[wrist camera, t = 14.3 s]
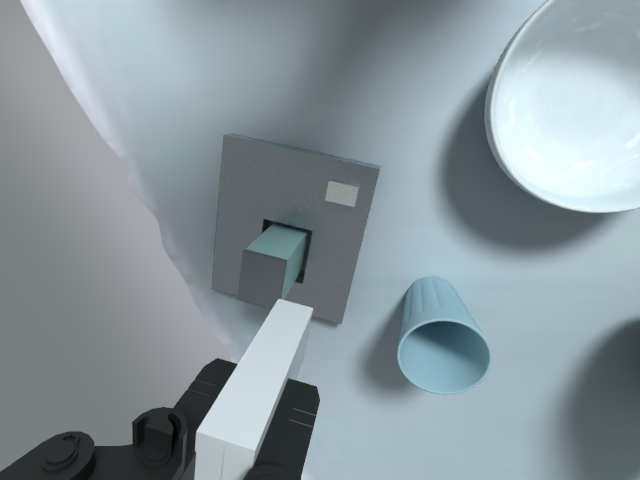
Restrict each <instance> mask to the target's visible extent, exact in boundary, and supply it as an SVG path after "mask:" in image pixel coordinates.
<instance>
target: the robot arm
mask: <svg viewBox="0 0 640 480" xmlns="http://www.w3.org/2000/svg"><path fill="white" fill-rule="evenodd" d="M312 313H313V308H311V307H308V306H304V305H300V304H297V303H293V302H289V301H286V300H282V299H278V300H277V302H276V303H275V305H274V307H273V308H272V310H271V312H270V313H269V315H268V316H267V318H266V320H265V321H264V323H263V324H262V326H261V328H260V329H259V331H258V333H257V334H256V336H255V337H254V339H253V341H252V342H251V344H250V346H249V347H248V349H247V350H246V352H245V354H244V355H243V357H242V358H241V360H240V362H239V363H238V364H235V363H232V362H229V361H225V360H221V359H218V358H217V359H215V360H214V361H212V362H211V363H209V364H207V365H206V366H205V367H203V369H202V370H201V372H200V373H199V374H198V376H197V377H196V378H195V381H193V382H192V384H191V385H190V386H189V388H188V390H187V391H186V392H185V393H184V394H183V396H182V397H181V398H180V400H179V401H178V402H177V404H176V405H175V406H174V408H165V407H162V408H156V409H151V410H149V411H147V412H145V413H143V414H141V415H140V416H139V417H138V418H136V419H135V420H134V421H133V422H132V423H133V424H132V426H133V444H131V445H125V446H94V441H93V440H92V438H91V437H90V436H89V435H88V434H85V433H83V432H66V433H62V434H58V435H55V436H53V437H52V438H50V439H48V440H46V441H44V442H43V443H41V444H40V445H38V446H37V447H35V448H34V449H33V450H31V451H30V452H28V453H27V454H25V455H24V456H23V457H21V458H20V459H18V460H17V461H15V462H14V463H13V464H11V465H10V466H8V467H7V468H5V469H4V470H2V471H1V472H0V480H301V474H302V470H303V466H304V463H305V459H306V455H307V451H308V447H309V443H310V439H311V435H312V431H313V427H314V423H315V419H316V414H317V410H318V406H319V402H320V398H319V394H318V389H317V387H316V386H313V385H309V384H306V383H303V382H299V381H296V377H297V375H298V372H299V369H300V366H301V364H302V361H303V356H304V351H305V346H306V342H307V337H308V332H309V327H310V322H311V318H312Z"/></svg>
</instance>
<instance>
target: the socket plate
mask: <svg viewBox="0 0 640 480" xmlns="http://www.w3.org/2000/svg"><path fill="white" fill-rule="evenodd" d="M379 170H380V166H377V165H372V164H367V163H363V162H358V161H354V160H349V159H344V158H340V157H335V156H331V155H326V154H321V153H317V152H312V151H308V150H303V149H298V148H294V147H289V146H285V145H280V144H276V143H271V142H266V141H262V140H257V139H253V138H248V137H243V136H239V135H234V134H229V135H224V140H223V152H222V165H221V177H220V190H219V202H218V214H217V227H216V239H215V251H214V264H213V276H212V289H214V290H218V291H222V292H225V293H229V294H233V295H236V296H238V288H239V279H240V270H241V261H242V253H243V251H244V250H245V249H246V248H247V247H248V246H249V245H250V244H251V243H252V242H253V241H254V240H256V239H257V238H258V237H259V236H260V235H261V234H262V233H263V232H264V231H265V230H267V229H268V228H269V227H270V226H271V225H272V224H273V223H278V224H283V225H287V226H291V227H295V228H299V229H303V230H307V231H308V236H307V241H306V246H305V252H304V257H303V263H302V268H301V271H300V273H299V275H298V277H297V278H296V280H295V282H294V283H293V285H292V287H291V288H290V290H289V292H288V294H287V295H286V297H285V299H284V300H286V301H289V302H293V303H297V304H300V305H304V306H308V307H311V308H313V313H312V316H313V317H317V318H321V319H324V320H328V321H332V322H335V323H339V324H341V323H342V319H343V315H344V311H345V307H346V303H347V299H348V295H349V291H350V287H351V283H352V279H353V275H354V271H355V267H356V263H357V259H358V254H359V250H360V246H361V242H362V238H363V234H364V230H365V226H366V222H367V218H368V214H369V210H370V206H371V202H372V198H373V194H374V190H375V186H376V182H377V178H378V174H379Z"/></svg>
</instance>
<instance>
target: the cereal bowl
mask: <svg viewBox="0 0 640 480" xmlns="http://www.w3.org/2000/svg"><path fill="white" fill-rule="evenodd" d="M484 115H485V118H484V121H485V129H486V134H487V139H488V144H489V146H490V148H491V151H492V154H493V156H494V157H495V159H496V161H497V162H498V165H499V166H500V167H501V168H502V170H503V171H504V172H505V173H506V175H507V176H508V177H509V178H510V179H511V180H512V181H513V182H514V183H515V184H516V185H518V186H519V187H520V188H522V189H523V190H524V191H526V192H527V193H529V194H530V195H532V196H533V197H536V198H538V199H540V200H542V201H544V202H546V203H548V204H551V205H554V206H557V207H560V208H564V209H568V210H573V211H578V212H586V213H614V212H622V211H628V210H634V209H638V208H640V0H547V1H546V2H545V3H544V4H543V5H542V6H540V7H539V8H538V9H537V10H536V11H535V12H534V13H533V14H532V15H531V16H530V17H529V18H528V19H527V20H526V22H525V23H523V25H522V26H521V27H520V28H519V29H518V31H517V32H516V33H515V35H514V36H513V38H512V39H511V40H510V41H509V43H508V45H507V46H506V48H505V49H504V51H503V53H502V54H501V56H500V58H499V60H498V62H497V65H496V66H495V68H494V71H493V74H492V76H491V79H490V82H489V86H488V90H487V95H486V101H485V113H484Z"/></svg>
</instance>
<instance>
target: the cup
mask: <svg viewBox="0 0 640 480" xmlns="http://www.w3.org/2000/svg"><path fill="white" fill-rule="evenodd" d="M397 360H398V364H399V367H400V369H401V371H402V373H403V374H404V376H405V377H406V378H407V379H408V380H409V381H410V382H411V383H413V384H414V385H415V386H417V387H419V388H421V389H423V390H425V391H428V392H431V393H436V394H457V393H461V392H465V391H467V390H470V389H472V388H474V387H475V386H477V385H478V384H479V383H481V382H482V381H483V380H484V379H485V377H486V376H487V375H488V373H489V371H490V368H491V365H492V350H491V347H490V344H489V342H488V340H487V339H486V337H485V336H484V334H483V333H482V331H481V329H480V328H479V326H478V325H477V323H476V322H475V320H474V319H473V317H472V316H471V314H470V312H469V311H468V309H467V308H466V306H465V304H464V303H463V301H462V300H461V298H460V297H459V295H458V293H457V292H456V290H455V289H454V288H453V287H452V285H451V284H450V283H449V282H447V281H446V280H443V279H441V278H438V277H425V278H422V279H420V280H417V281H416V282H414V283H413V284H412V285H411V286H410V288H409V289H408V291H407V295H406V300H405V306H404V312H403V319H402V325H401V332H400V337H399V343H398V349H397Z"/></svg>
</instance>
